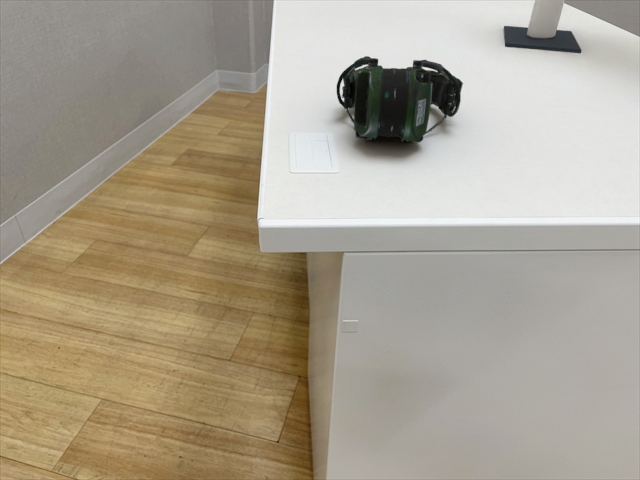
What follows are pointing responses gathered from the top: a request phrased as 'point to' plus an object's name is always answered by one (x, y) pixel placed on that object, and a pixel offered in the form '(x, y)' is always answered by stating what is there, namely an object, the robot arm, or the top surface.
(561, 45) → the slate mat
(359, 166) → the top surface
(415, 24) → the top surface
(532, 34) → the eye dropper bottle
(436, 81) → the headphones
